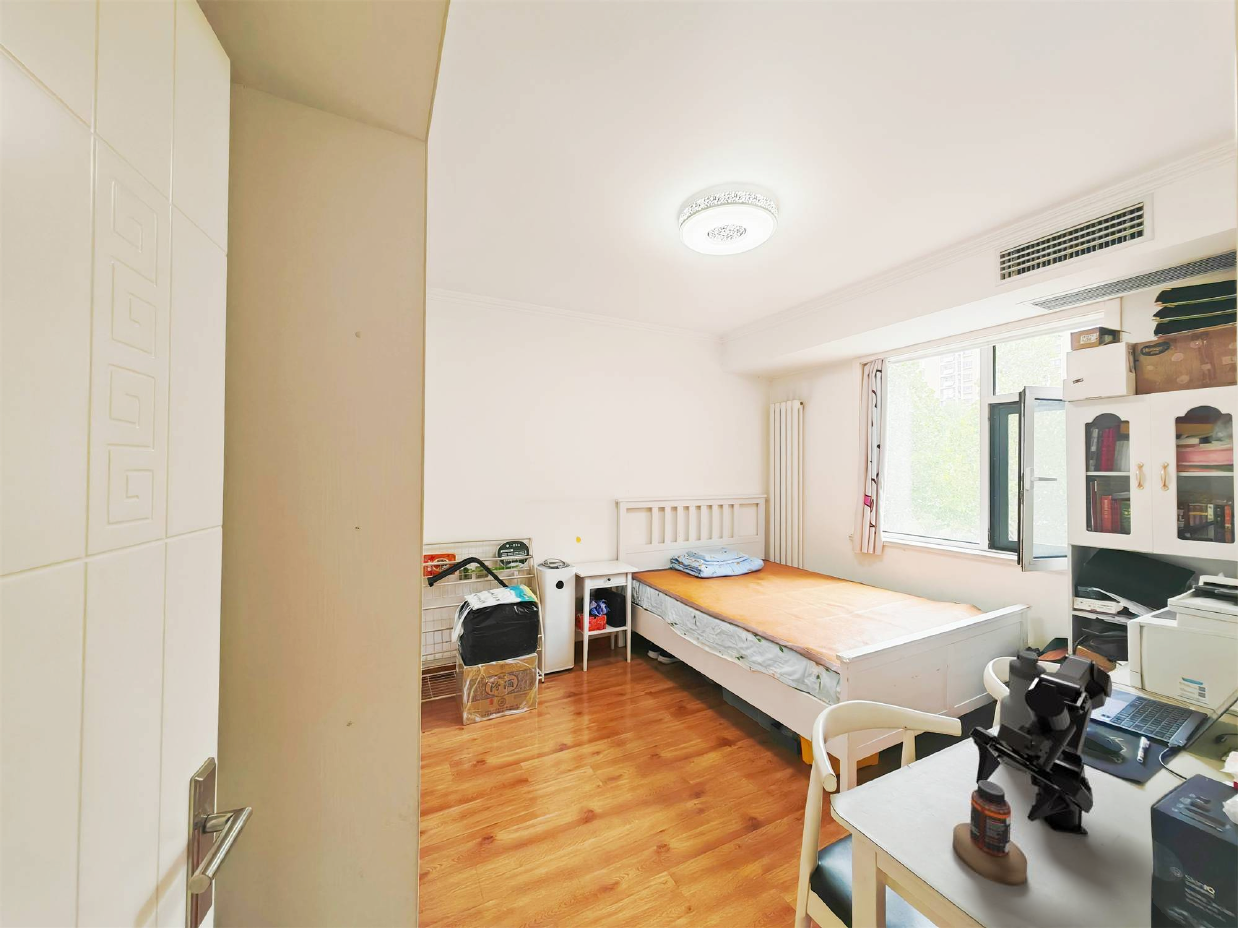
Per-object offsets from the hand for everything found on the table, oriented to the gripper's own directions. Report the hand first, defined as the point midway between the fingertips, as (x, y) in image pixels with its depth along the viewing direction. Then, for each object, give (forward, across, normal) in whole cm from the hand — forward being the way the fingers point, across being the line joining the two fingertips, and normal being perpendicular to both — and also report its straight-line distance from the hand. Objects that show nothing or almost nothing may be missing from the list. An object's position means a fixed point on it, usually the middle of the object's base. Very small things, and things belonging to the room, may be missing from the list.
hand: (1002, 801), depth 89 cm
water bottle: (-17, -19, +32) cm, 41 cm away
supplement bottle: (+8, 0, +3) cm, 9 cm away
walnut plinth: (+10, 0, +5) cm, 11 cm away
